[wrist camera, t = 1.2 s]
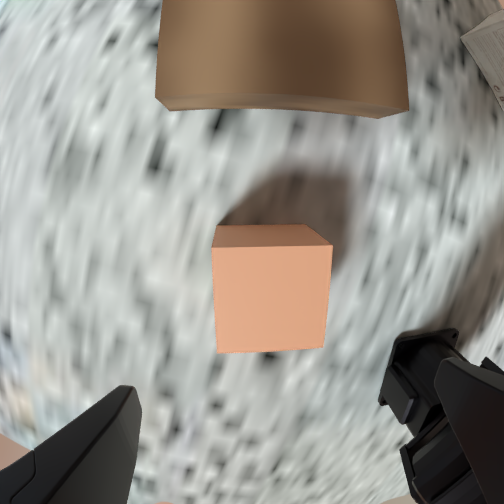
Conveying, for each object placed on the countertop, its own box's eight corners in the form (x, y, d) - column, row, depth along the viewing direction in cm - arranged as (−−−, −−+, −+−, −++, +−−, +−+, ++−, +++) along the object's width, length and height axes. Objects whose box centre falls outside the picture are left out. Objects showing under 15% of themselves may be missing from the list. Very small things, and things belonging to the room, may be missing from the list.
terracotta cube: (304, 223, 17) (332, 245, 13) (301, 304, 19) (323, 347, 14) (216, 225, 17) (211, 247, 12) (219, 307, 18) (217, 353, 14)
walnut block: (358, -29, 13) (380, -56, 9) (374, 119, 16) (409, 110, 12) (183, -42, 12) (176, -76, 8) (171, 112, 15) (155, 97, 12)
